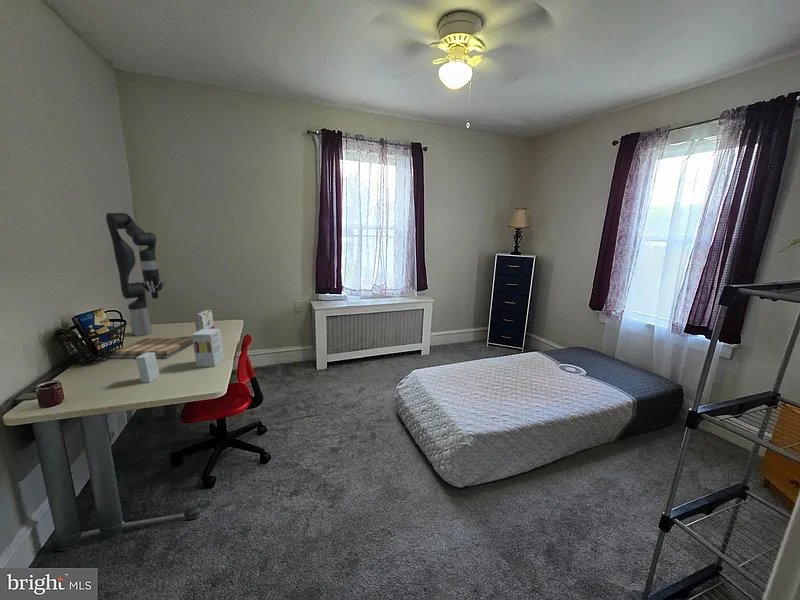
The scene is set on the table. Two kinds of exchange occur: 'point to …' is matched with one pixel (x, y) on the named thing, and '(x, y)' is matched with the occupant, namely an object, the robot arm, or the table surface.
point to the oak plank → (147, 349)
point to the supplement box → (208, 347)
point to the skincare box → (147, 367)
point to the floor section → (159, 341)
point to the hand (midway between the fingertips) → (155, 298)
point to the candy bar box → (204, 320)
